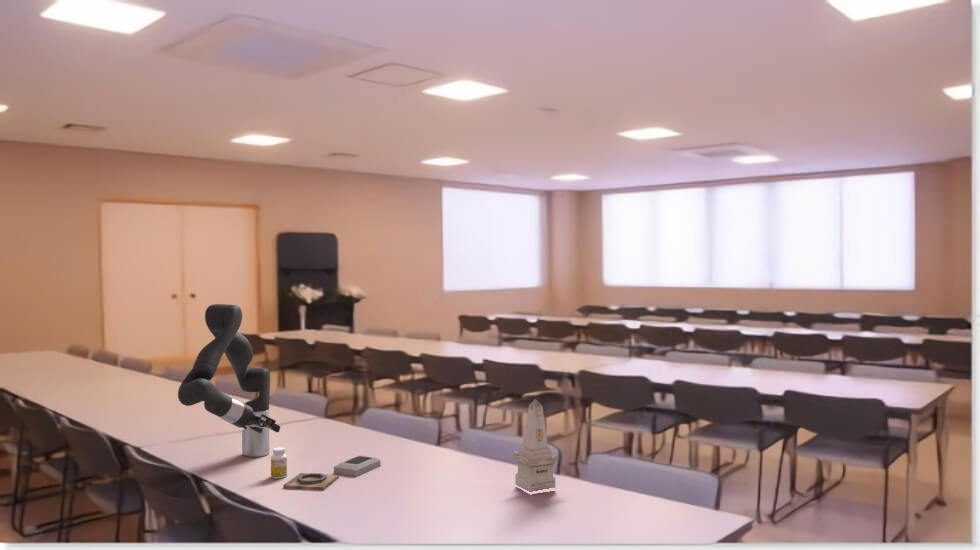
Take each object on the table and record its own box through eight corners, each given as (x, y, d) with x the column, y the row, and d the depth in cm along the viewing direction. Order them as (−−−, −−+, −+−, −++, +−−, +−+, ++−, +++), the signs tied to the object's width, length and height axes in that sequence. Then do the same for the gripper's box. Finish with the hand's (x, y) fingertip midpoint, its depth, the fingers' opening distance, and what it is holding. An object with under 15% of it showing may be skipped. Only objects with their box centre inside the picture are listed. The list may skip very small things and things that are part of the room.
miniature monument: (529, 496, 243) (530, 402, 242) (513, 487, 252) (513, 397, 251) (557, 491, 247) (557, 400, 247) (540, 482, 257) (541, 394, 256)
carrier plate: (283, 488, 250) (283, 482, 250) (300, 475, 264) (300, 470, 264) (323, 490, 248) (323, 484, 248) (339, 477, 261) (339, 472, 261)
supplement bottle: (272, 474, 265) (272, 446, 265) (288, 474, 266) (288, 446, 265) (269, 479, 260) (269, 450, 260) (285, 478, 260) (285, 450, 260)
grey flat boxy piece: (333, 463, 267) (358, 453, 281) (333, 474, 267) (358, 463, 281) (356, 467, 263) (380, 456, 276) (356, 477, 263) (380, 466, 277)
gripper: (253, 400, 244) (288, 418, 256) (224, 402, 252) (259, 420, 263) (245, 422, 241) (281, 440, 252) (216, 423, 248) (252, 441, 260)
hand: (270, 430), depth 258 cm, fingers open, 8 cm apart
